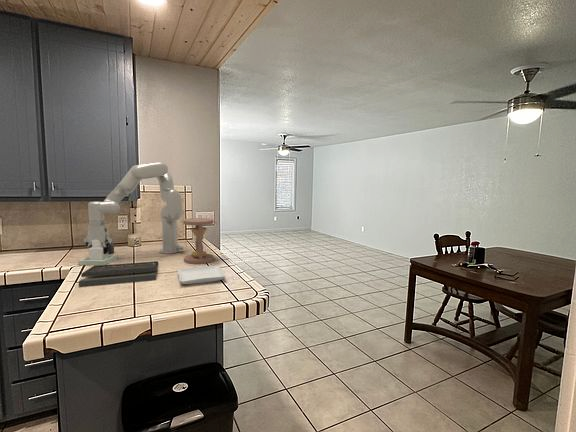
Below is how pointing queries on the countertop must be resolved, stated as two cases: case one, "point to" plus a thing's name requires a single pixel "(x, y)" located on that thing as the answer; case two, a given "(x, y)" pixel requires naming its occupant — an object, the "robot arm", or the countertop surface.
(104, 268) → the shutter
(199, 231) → the hourglass
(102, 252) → the medicine bottle
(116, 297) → the countertop surface
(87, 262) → the pale green square tray
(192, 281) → the grey flat square slab
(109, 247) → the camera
